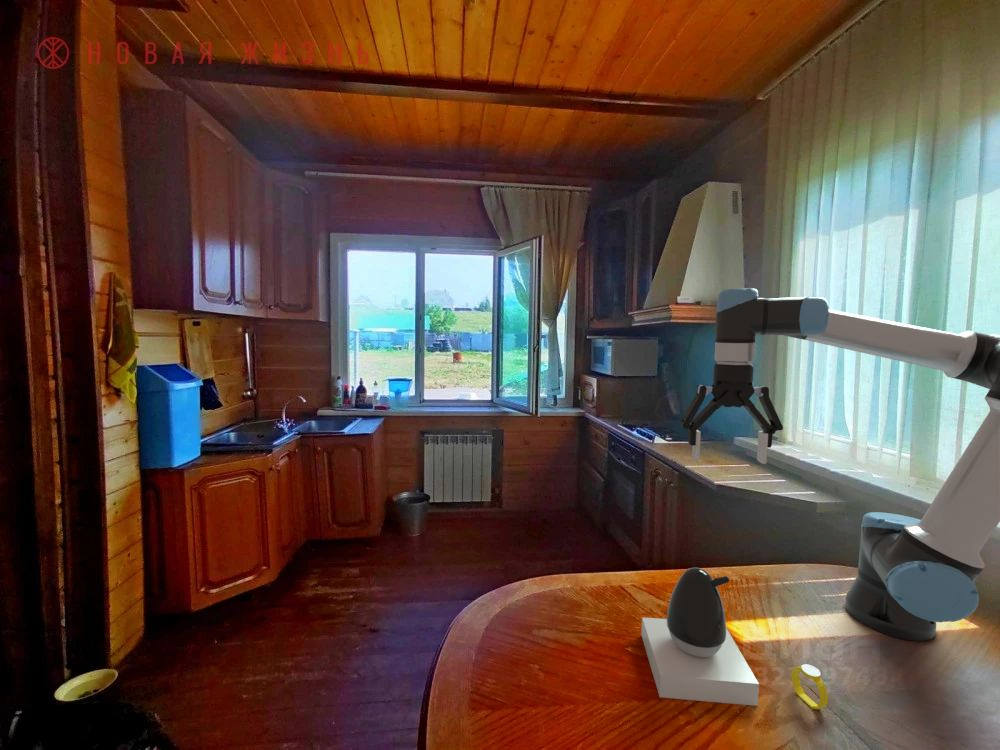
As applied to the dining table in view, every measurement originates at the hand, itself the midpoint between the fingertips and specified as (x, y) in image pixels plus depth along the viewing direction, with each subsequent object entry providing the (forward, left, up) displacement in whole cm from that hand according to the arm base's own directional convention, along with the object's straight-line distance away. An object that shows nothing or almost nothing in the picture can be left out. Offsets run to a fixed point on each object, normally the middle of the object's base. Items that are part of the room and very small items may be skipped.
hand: (728, 461), depth 99 cm
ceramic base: (+11, +18, -35) cm, 41 cm away
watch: (-6, +24, -35) cm, 43 cm away
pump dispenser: (+11, +18, -31) cm, 37 cm away
